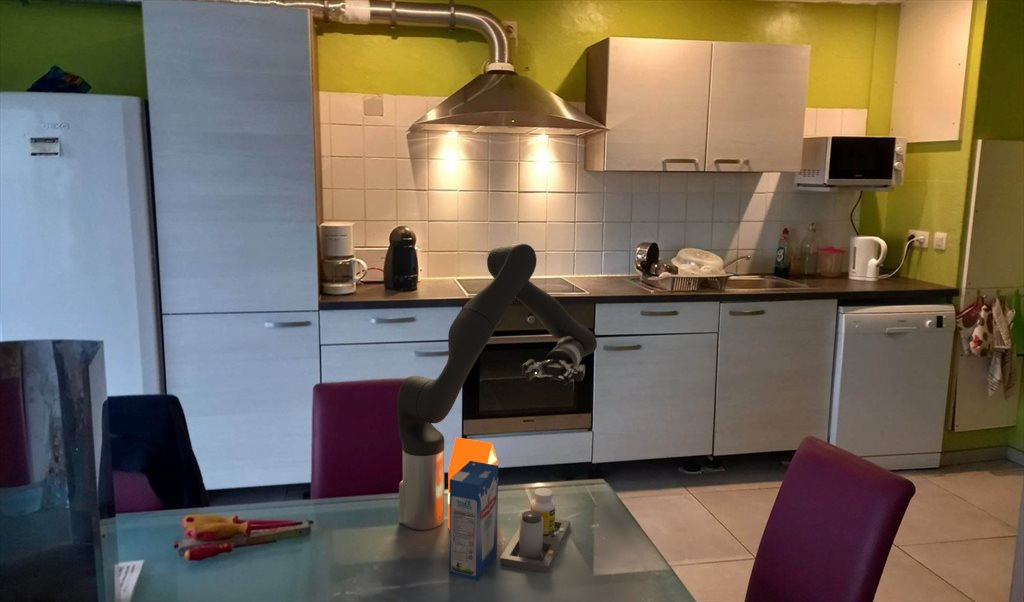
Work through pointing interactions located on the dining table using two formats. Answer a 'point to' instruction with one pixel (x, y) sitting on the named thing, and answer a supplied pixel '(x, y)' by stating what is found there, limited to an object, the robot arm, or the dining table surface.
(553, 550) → the two-slot grey tray
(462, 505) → the milk carton
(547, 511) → the supplement bottle
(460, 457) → the orange juice
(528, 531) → the seated grey plug
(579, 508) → the dining table surface
